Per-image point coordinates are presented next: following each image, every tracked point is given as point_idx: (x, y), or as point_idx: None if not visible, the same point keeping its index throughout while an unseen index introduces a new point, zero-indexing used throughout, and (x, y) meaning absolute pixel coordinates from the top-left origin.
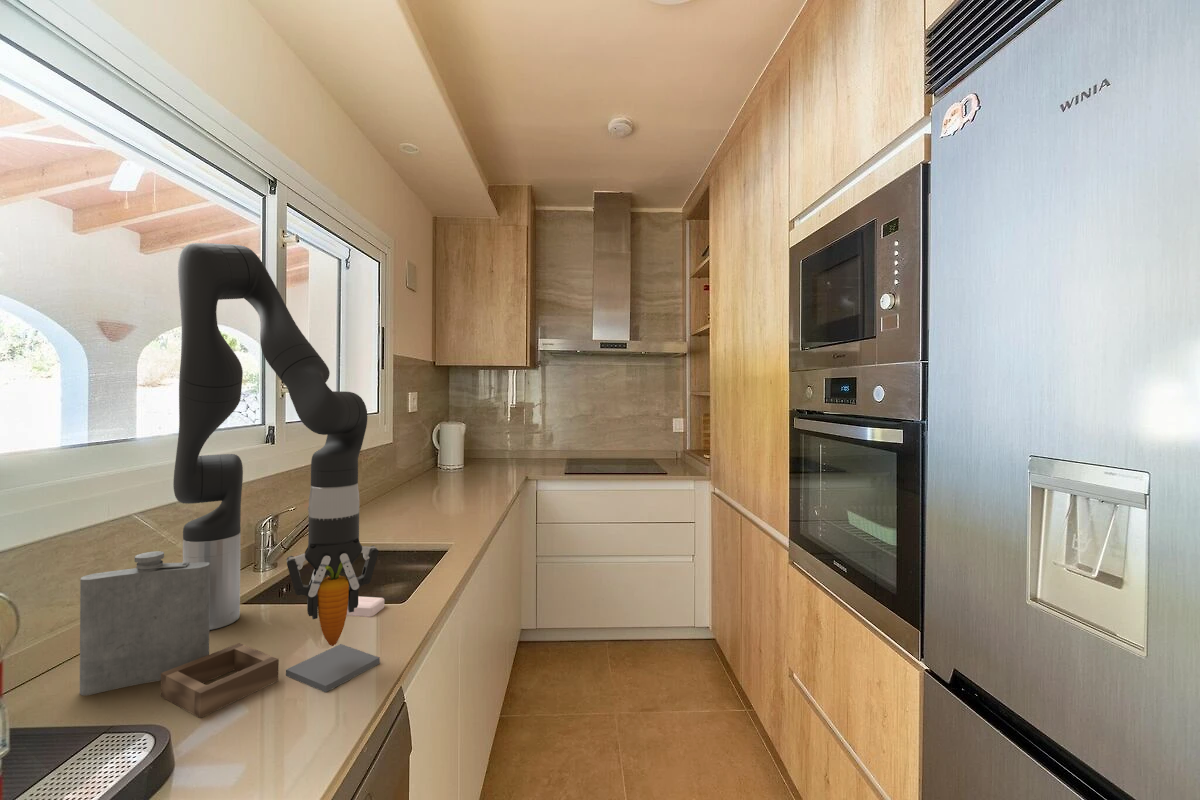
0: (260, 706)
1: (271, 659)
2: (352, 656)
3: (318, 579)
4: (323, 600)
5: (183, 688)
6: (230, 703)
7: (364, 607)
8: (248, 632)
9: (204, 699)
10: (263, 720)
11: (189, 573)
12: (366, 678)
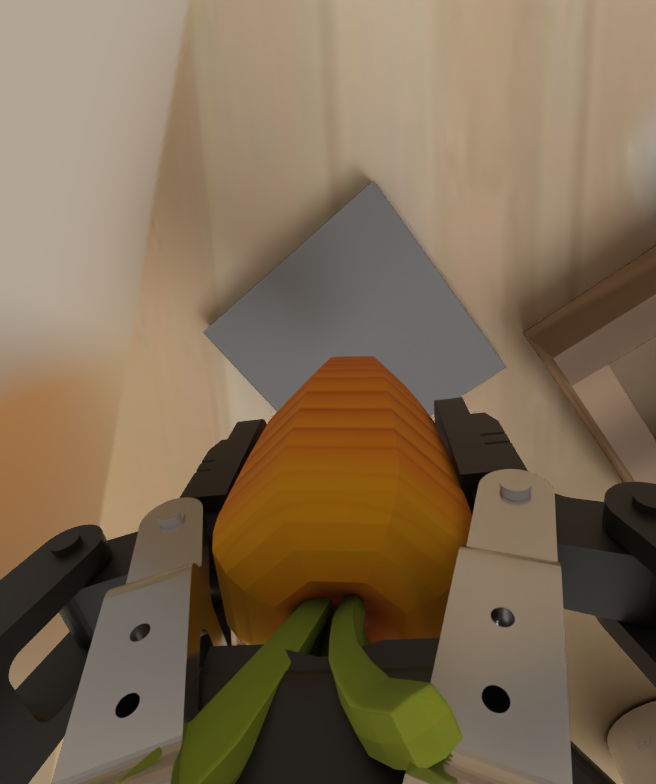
0: (586, 167)
1: (578, 364)
2: (294, 376)
3: (506, 574)
4: (414, 434)
5: None
6: None
7: None
8: (589, 652)
9: None
10: (583, 44)
11: None
12: (243, 234)
